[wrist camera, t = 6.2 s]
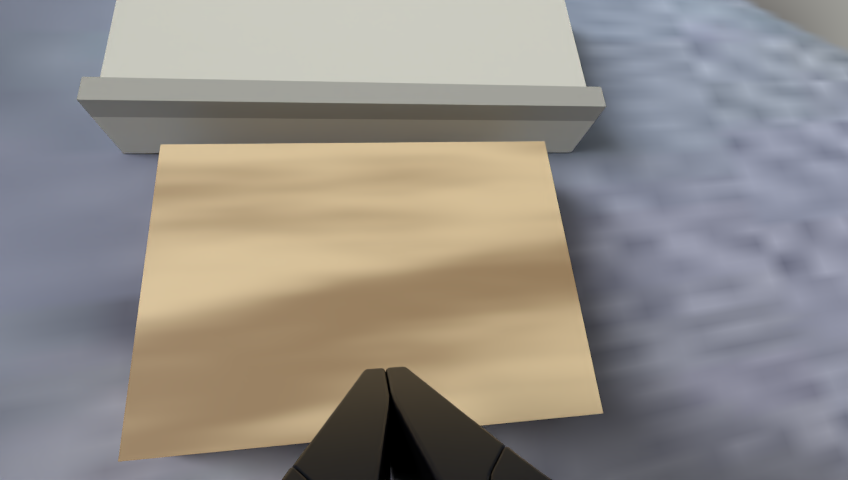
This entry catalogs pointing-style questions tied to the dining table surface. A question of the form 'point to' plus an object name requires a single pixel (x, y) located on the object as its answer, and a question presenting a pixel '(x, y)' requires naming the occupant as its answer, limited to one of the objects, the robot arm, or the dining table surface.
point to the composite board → (340, 73)
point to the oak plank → (349, 289)
